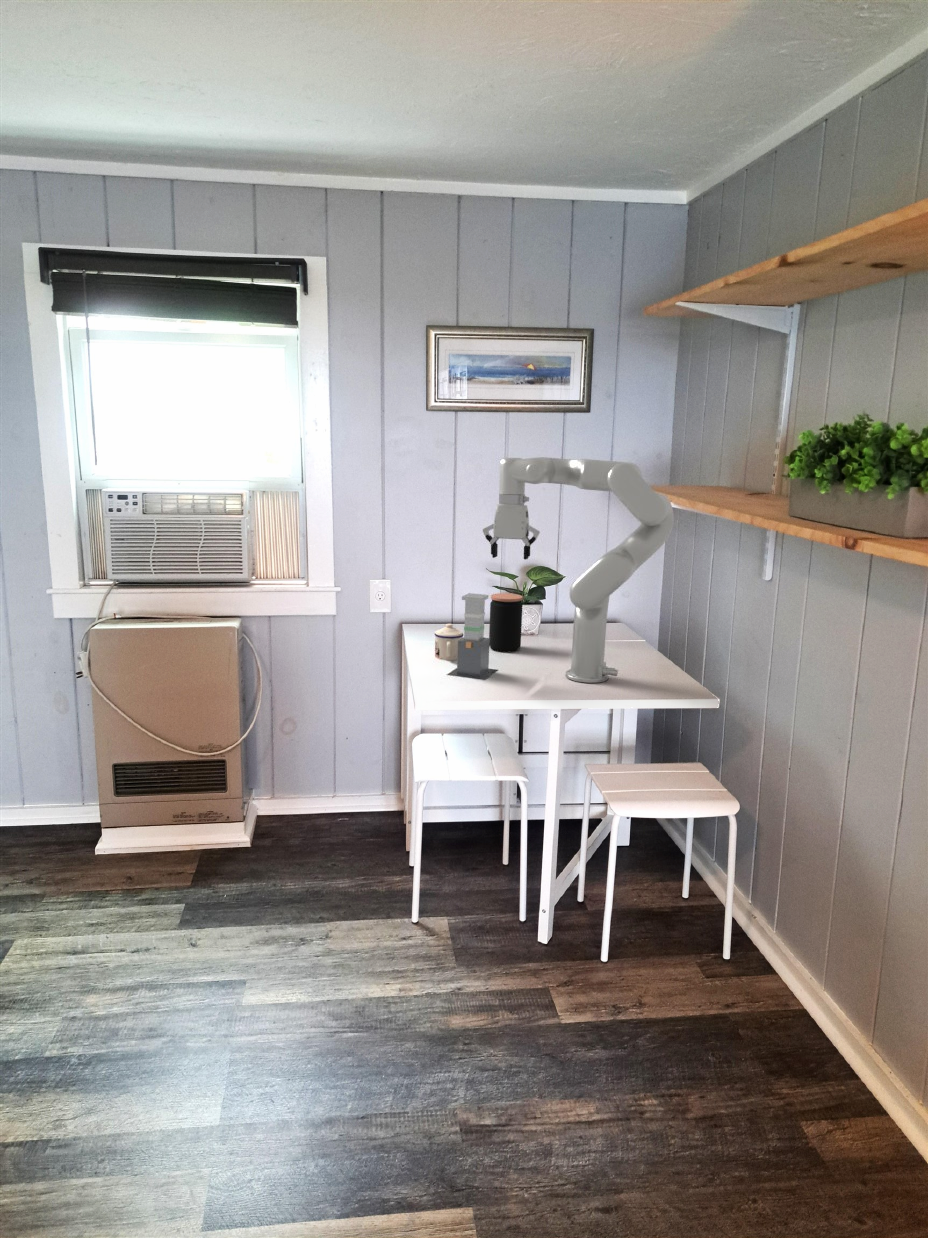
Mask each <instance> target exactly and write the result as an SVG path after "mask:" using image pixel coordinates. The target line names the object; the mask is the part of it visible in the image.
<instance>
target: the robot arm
mask: <svg viewBox="0 0 928 1238" xmlns="http://www.w3.org/2000/svg"><path fill="white" fill-rule="evenodd" d="M498 473H499V477H498V478H499V481H498V484H499V485H498V487H499V488H498V489H499V490H498V504H496V507H495V513H494V519H493V523H492V524H490V525H488V526H486V527H484V528H482V532H483V533H482V534H483V535H484V537H485V539H486V540H487V541H488V542H489V544H490V554H491V558H493V559H495V558H496V557H498V552H499V551H498V550H499V549H498V547H499V546H498V545H499V544H498V543H497V542H498V541H499V539H503V540H505V539H506V540H522V542H523V543H524V546H523V559H524V560H528V559H529V558H530V556H531V545H533V543H535V542H536V541H537V539H538V537H539V535H540V533H541V532H540V530H539V529H537V528H535V527H533V526H532V525H530V518H529V517H530V516H529V509H528V505H526V504H525V503H527V502H530V496H526V492H525V490H526V489H525V487H526V484H530V485H531V484H532V485H541V484H555V485H556V484H557V485H566V486H574V487H576V488H578V489H581V490H586V491H597V492H598V491H600V492H602V491H603V492H612V493H613V494H614V495H615V496H616V497H617V499H618V500H619V501H620V502H621V503H622V504H623V505H624V507H625V508H626V509H627V510H628V511H629V512H630V514H632V516H633V517H634V518H635V519H636V520H637V521H638V522H640V525H639V526H638V527H637V528H636V529H635V530H634V531H633V532H631V533H630V535H628V537H626V538H625V539H624V540H623V541H622V542H620V543H619V545H617V546H616V547H614V548H612V549H611V550H609V551H608V552H606V553H605V554H603V555H602V556H601V557H600V558H599V559H598V560H596V562H594V563H593V564H591V566H590V567H588V569H586V570H585V571H584V572H583V573H582V574H581V575H580V576H579V577H577V578H576V579H575V580H574V581H573V582H572V584H571V586H570V588H569V599H570V601H571V603H572V605H573V606H575V607H574V613H573V614H574V615H573V628H572V629H573V630H572V645H571V663H570V669H567V670H566V671H565V677H566V678H567V679H569V680H571V681H574V682H578V683H589V684H594V683H595V684H596V683H603V682H606V681H607V680H608V679H609V676H612V677H618V674H619V669H616V668H615V667H608V666H607V662H605V651H606V635H607V622H608V621H607V620H608V608H609V602H610V596H611V595H612V594H613V593H614V592H615V591H616V590H618V589H619V588H620V587H622V585H624V583H626V582H627V581H628V580H630V579H631V577H632V576H633V575H634V573H635V572H636V571H637V570H638V569H639V568H640V567H641V566H642V565H643V564H644V563H645V562H647V561H648V560H649V559H650V558H651V557H652V556H653V555H655V554H656V552H658V550H659V549H661V548H662V546H664V544H665V543H666V542H667V540H668V539H669V537H670V535H671V532H672V530H673V527H674V522H675V521H674V520H675V518H674V517H675V515H674V509H673V505H672V503H671V501H670V499H669V497H667V496H666V495H665V494H663V493H659V492H656V491H655V490H654V489H653V488H652V487H651V486H650V485H649V484H648V482H646V480H645V479H644V478H643V474H642V473H643V472H642V470H641V468H640V467H639V466H638V465H637V464H635V463H633V462H630V461H629V462H628V461H616V460H615V461H614V460H599V459H589V458H580V459H570V458H558V457H557V458H556V457H546V456H545V457H544V456H543V457H542V456H539V457H537V456H536V457H531V458H521V457H503V458H501V459H500V461H499V472H498ZM491 530H492V531H493V536H492V535H491V534H490V531H491ZM530 532H531V533H532V534H533V535H532V537H531V538H529V536H530Z"/></svg>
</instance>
